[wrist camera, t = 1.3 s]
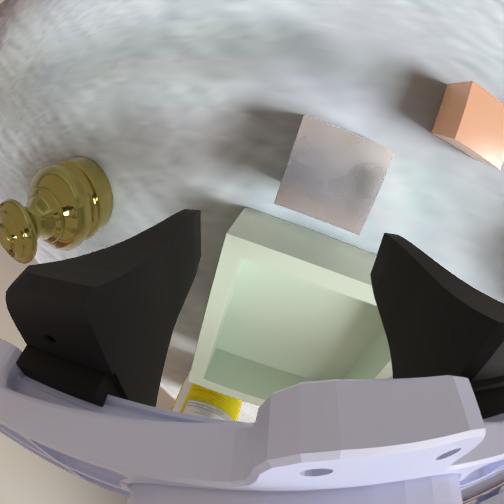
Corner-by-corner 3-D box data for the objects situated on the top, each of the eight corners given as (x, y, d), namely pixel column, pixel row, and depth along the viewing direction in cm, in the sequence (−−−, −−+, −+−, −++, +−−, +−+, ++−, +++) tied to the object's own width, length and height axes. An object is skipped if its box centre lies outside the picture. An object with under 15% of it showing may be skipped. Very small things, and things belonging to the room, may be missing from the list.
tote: (423, 274, 21) (442, 311, 17) (341, 387, 28) (341, 426, 24) (245, 206, 22) (226, 233, 17) (205, 344, 29) (188, 381, 24)
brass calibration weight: (63, 146, 22) (-23, 176, 13) (121, 169, 22) (30, 210, 13) (57, 215, 26) (-14, 259, 17) (110, 243, 26) (38, 302, 17)
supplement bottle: (214, 402, 33) (181, 490, 22) (178, 368, 32) (132, 460, 20) (258, 391, 31) (231, 493, 19) (221, 354, 29) (177, 463, 18)
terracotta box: (487, 112, 14) (517, 115, 11) (472, 158, 16) (500, 169, 13) (446, 84, 14) (472, 81, 11) (430, 133, 16) (454, 139, 13)
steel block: (375, 142, 18) (394, 152, 13) (349, 207, 20) (359, 235, 16) (305, 115, 18) (303, 114, 14) (283, 182, 20) (273, 203, 16)
